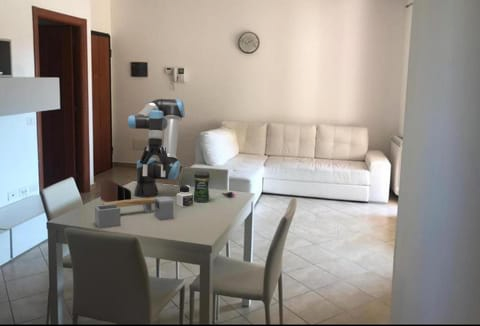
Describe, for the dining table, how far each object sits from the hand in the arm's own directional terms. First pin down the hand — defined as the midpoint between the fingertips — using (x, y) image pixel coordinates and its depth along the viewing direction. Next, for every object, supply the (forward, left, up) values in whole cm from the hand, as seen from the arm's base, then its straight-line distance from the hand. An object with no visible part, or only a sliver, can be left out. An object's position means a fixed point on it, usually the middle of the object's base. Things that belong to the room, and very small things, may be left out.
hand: (153, 176), depth 255 cm
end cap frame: (+13, -14, -20) cm, 28 cm away
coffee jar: (-9, +33, -20) cm, 40 cm away
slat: (0, -14, -15) cm, 20 cm away
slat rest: (0, -14, -20) cm, 24 cm away
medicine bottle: (-4, +20, -20) cm, 29 cm away
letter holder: (-29, -14, -20) cm, 38 cm away
